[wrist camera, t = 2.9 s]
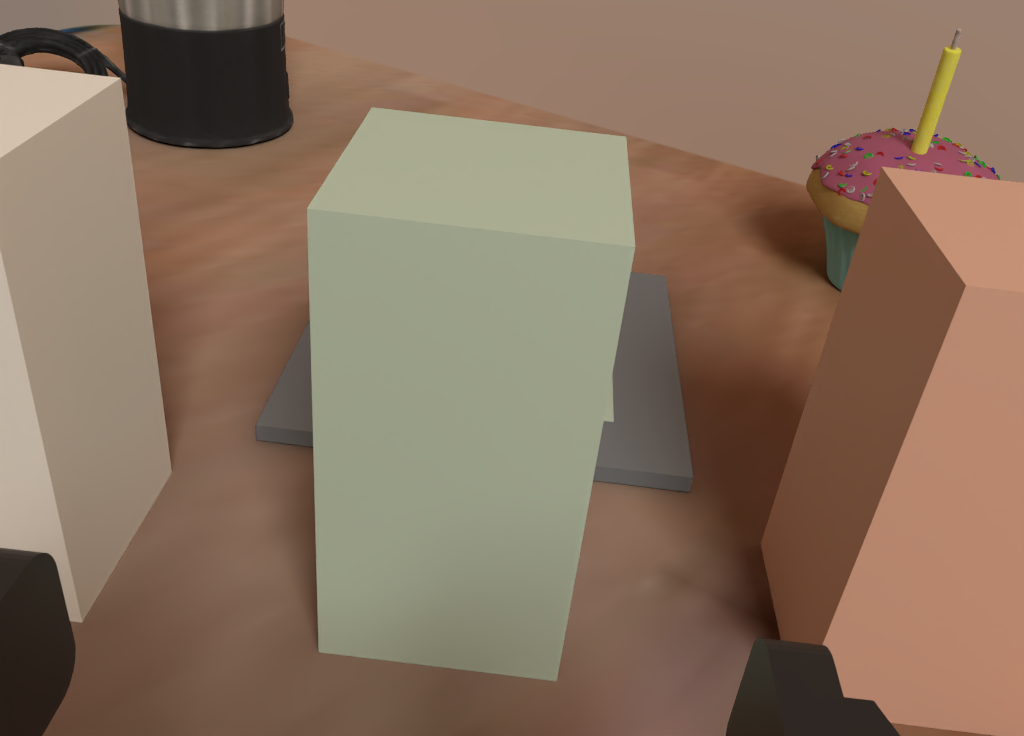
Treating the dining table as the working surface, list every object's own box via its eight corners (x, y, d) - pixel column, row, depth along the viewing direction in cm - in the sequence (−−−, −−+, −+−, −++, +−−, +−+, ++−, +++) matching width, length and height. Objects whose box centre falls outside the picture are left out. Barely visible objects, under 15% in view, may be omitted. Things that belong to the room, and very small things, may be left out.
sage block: (556, 681, 24) (635, 247, 17) (318, 652, 24) (307, 208, 17) (563, 520, 29) (625, 136, 22) (367, 496, 29) (371, 107, 22)
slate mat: (689, 492, 30) (693, 477, 30) (256, 440, 30) (255, 424, 30) (663, 288, 42) (665, 275, 42) (350, 251, 42) (350, 238, 42)
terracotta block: (1036, 740, 24) (1299, 324, 17) (796, 710, 24) (966, 285, 17) (958, 568, 29) (1138, 196, 22) (760, 544, 29) (881, 166, 22)
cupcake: (962, 351, 40) (1081, 63, 33) (764, 293, 43) (839, 17, 36) (976, 274, 46) (1078, 22, 40) (804, 228, 49) (873, -15, 43)
